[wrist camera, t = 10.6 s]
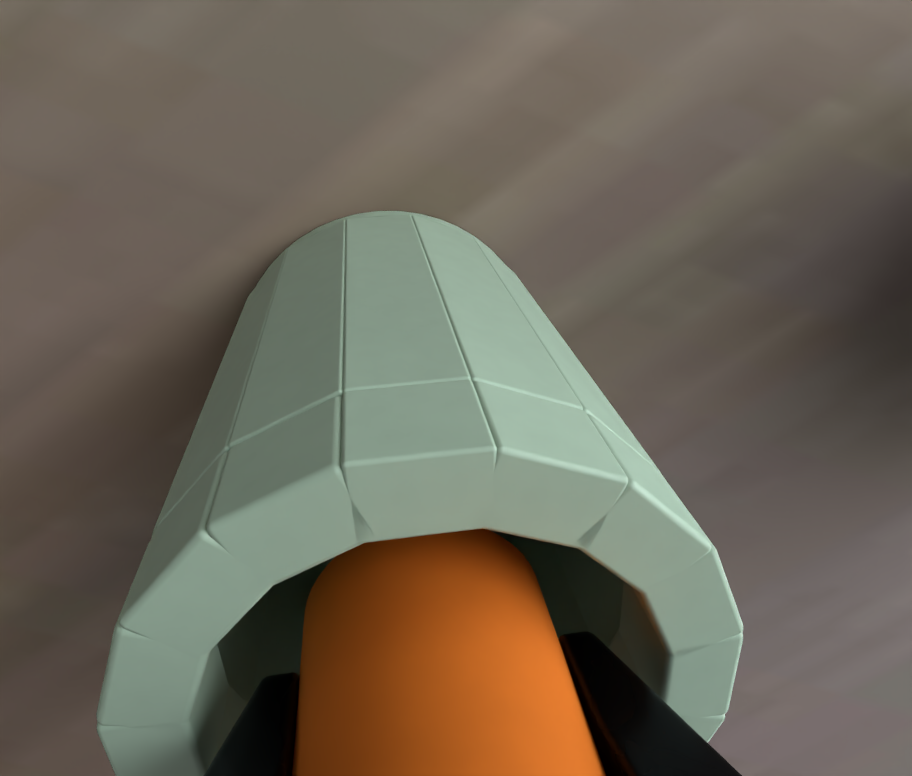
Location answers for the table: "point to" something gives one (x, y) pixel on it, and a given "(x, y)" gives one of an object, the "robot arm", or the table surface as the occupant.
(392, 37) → the table surface
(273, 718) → the robot arm
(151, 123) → the table surface
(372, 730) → the cylinder
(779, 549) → the table surface
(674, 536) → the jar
